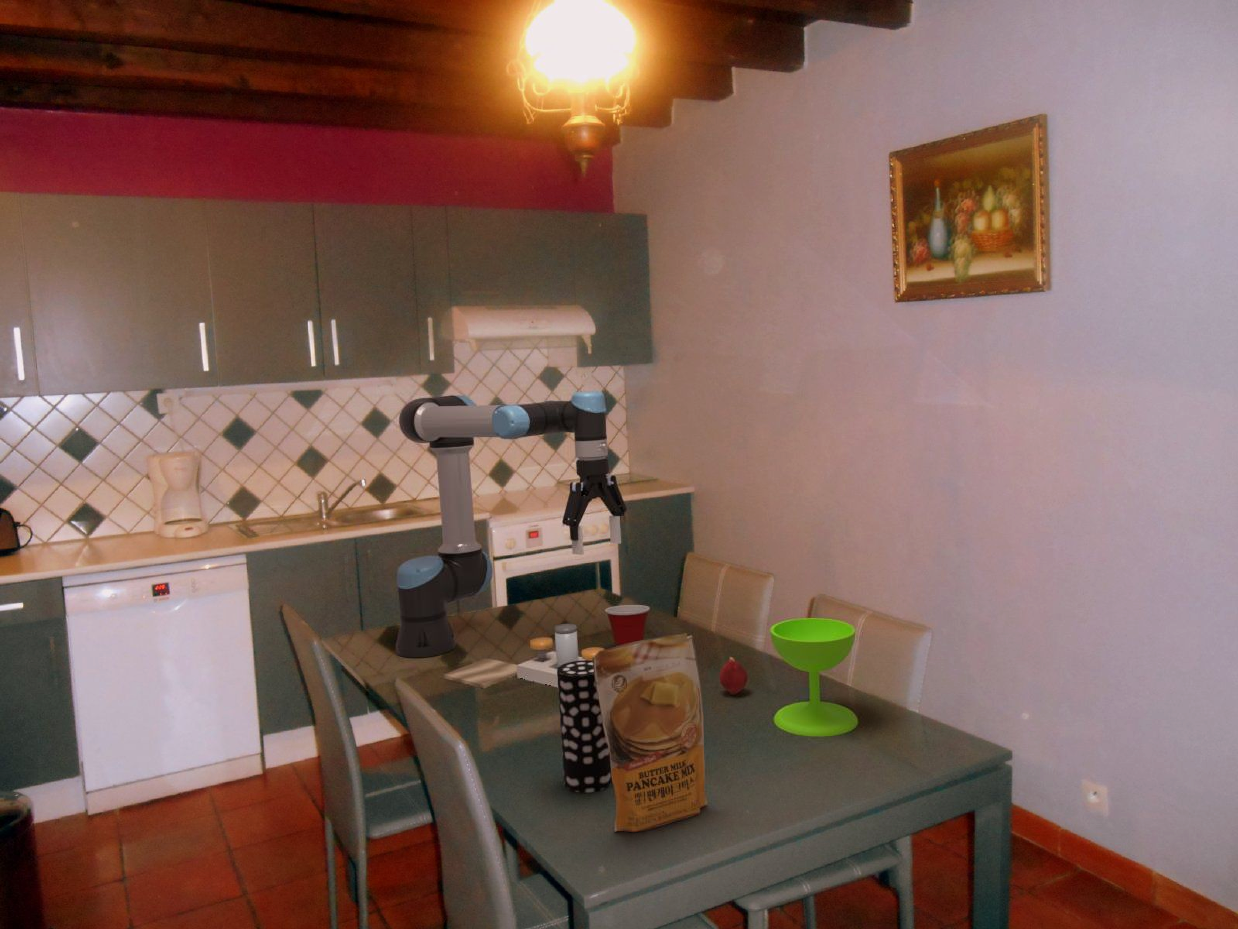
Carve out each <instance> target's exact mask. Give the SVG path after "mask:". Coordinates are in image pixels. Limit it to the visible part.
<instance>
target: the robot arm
mask: <svg viewBox="0 0 1238 929" xmlns="http://www.w3.org/2000/svg"><path fill="white" fill-rule="evenodd" d="M398 425H399V426H398V427H399V428H400V430H401V433H402V434H403V435H404V437H405V438H407V439H408V440H409V441H412V442H413V443H418V444H429V449H430V450H431V451H432V452H433V453H435V456H436V467H437V480H438V491H439V492H438V493H439V508H440V509H439V510H440V519H441V530H442V531H441V533H442V544H441V545H440V546H439V548H437V555H423V556H419V557H413V558H411V559H408V560H406V561H404V562H402V564H400V566H398V568H397V571H396V574H397V576H396V578H397V579H396V580H397V581H396V586H397V590H398V591H397V592H398V601H399V602H398V604H399V613H400V615H399V616H400V626H399V629H398V635H397V640H396V641H395V642H396V643H395V651H396V654H397V655H398V656H400V657H404V658H414V659H415V658H429V657H435V656H439V655H442V654H443V655H444V654H446V653H448V652H450V651H452V650H454V649H455V648H456V646H457V644H456V643H457V642H456V637H455V634H454V632H453V629H452V627H451V625H450V622H449V619H448V616H447V605H446V604H447V603H452V602H455V601H459V600H462V599H465V598H471V597H474V596H476V595H478V594H480V593H482V592H484V591H486V589H487V588H488V587H489V585H490V584H491V581H492V579H493V563H492V561H491V559H489V555H488V553H486V552H485V551H483V548H482V545H481V543H480V542H478V541H477V540H476V530H475V528H476V527H475V517H474V503H473V488H472V476H471V475H472V474H471V473H472V472H471V464H470V462H471V461H470V451H471V450H472V449H473V448H474V446H475V438H500V439H502V440H518V439H520V438H527V437H528V438H529V437H534V436H535V437H537V436H542V435H543V436H545V435H550V434H560V433H564V434H565V433H568V434H569V433H572V434H573V436H574V448H575V449H574V450H575V451H574V453H575V456H574V457H575V458H576V459H577V460H576V461H575V466H576V467H575V468H576V475H577V476H579V481H578V482H576V481H575V482H573V481H572V482H570V484H569V494H568V497H567V502H566V505H565V509H564V514H563V517H562V523H561V524H562V525H565V526H566V527H568V528H569V539H570V541H571V547H572V548H571V550H572V552H571V553H572V555H581V556H582V555H584V541H583V539H584V537H583V526H582V525H580V524H581V521H582V519H583V516H584V515H585V513H586V510H587V508H588V506H589V504H590V502H592V500H595V499H598V498H599V499H600V500H601V502H602V503H603V505H604V506H605V507H606V509H607V510H608V511H609V513H610V514H611V515H609V516H608V521H609V538H610V539H609V540H610V544H615V545H616V544H618V545H619V544H622V533H621V532H622V531H621V529H622V517H623V516H625V513H626V512H627V510H628V509H627V506H626V503H625V501H624V498H623V495H622V493H621V491H620V489H619V485H618V481H617V477H616V475H609V473H610V467H609V466H610V465H609V464H610V463H609V459H608V458H607V456H609V453H608V450H609V449H608V440H607V439H608V435H607V407H606V400H605V396H604V393H603V392H602V391H601V390H593V391H589V390H588V391H577V392H576V391H575V392H573V393H572V395H571V400H543V401H540V402H532V403H519V404H498V405H495V404H493V405H492V404H489V405H488V404H487V405H477V404H476V403H475V402H474V400H473V399H471V398H470V397H468V396H465V395H454V394H450V395H443V396H441V395H440V396H434V397H433V396H431V397H419V398H416V399H413V400H411V401H409V402H408V403H406V404H405V406H404V407H402V409H401V411H400V413H399V417H398Z"/></svg>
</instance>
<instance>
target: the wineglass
mask: <svg viewBox="0 0 1238 929" xmlns="http://www.w3.org/2000/svg"><path fill="white" fill-rule="evenodd" d="M769 632H770V636H771V637H770V638H771V642H772V644H773V646H774V649H775V650H776V652H777V654H778V655H779V656H780V657H781V658H782V660H784V662H785V663H787V664H789V665H790V666H791V667H792V668H795V669H796V670H800V671H804V672H807V673H808V683H809V701H800V702H794V703H790V704H788V705H786V706H783V707H782V708H780V709H779V710H777V712H776V713H775V715H774V717H773V722H774V724H775V725H776V727H777V728H779V729H781V730H783V731H785V732H787V733H790V734H794V735H798V736H803V737H810V738H811V737H813V738H814V737H819V738H820V737H821V738H823V737H834V736H839V735H844V734H845V733H848V732H851V731H852V730H854V729H856V728H857V725H858V724H859V721H858V720H859V719H858V717H857V715H856V714H855V713H854V712H853V711H852V710H851V709H849V708H848V707H845V706H842V705H840V704H837V703H833V702H828V701H827V702H826V701H821V699H820V698H821V697H820V695H821V694H820V693H821V692H820V672H826V671H829V670H832V669H834V668H835V667H836V666H838V665H840V664H841V663H843V662H844V660H845V659H846V658H847V656H848V655H849V654H850V652H851V651H852V648H853V646H854V643H855V637H856V628H855V627H854V625H852V624H850V623H847V622H845V621H841V620H838V619H831V618H823V617H822V618H820V617H818V618H817V617H803V618H795V619H788V620H787V619H786V620H784V621H780V622H778V623H775V624H774V625H772V626H771V627H770V631H769Z"/></svg>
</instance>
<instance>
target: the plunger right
mask: <svg viewBox="0 0 1238 929" xmlns="http://www.w3.org/2000/svg"><path fill="white" fill-rule="evenodd" d="M602 650H605V648H603V647H598V646H594V647H593V646H592V647H586V648H584V649H581V657H582V659H584V660H593V659H592V658H593V657H594V656H595V655H596V654H597V653H598V652H599V651H602Z"/></svg>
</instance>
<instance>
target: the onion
mask: <svg viewBox="0 0 1238 929" xmlns="http://www.w3.org/2000/svg"><path fill="white" fill-rule="evenodd" d="M718 677H719V683H720V684H721V686H722V687H723V688H724V689H725V690H726V691H727V692H729V694H730V695H732V696H733V695H737V694H738V693H739V692H741V691H742V690H743V689H744V688H745V687H746V685H747V684H748V674H747V671H746V670H745V668H744V667H743V665H742V664H741V663H740V662H738V661H736V659H734V657H732V656H729V661H728V662H727V663H725V664H724V665H723V666H722V668H721V669H720V672H719V676H718Z"/></svg>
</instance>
